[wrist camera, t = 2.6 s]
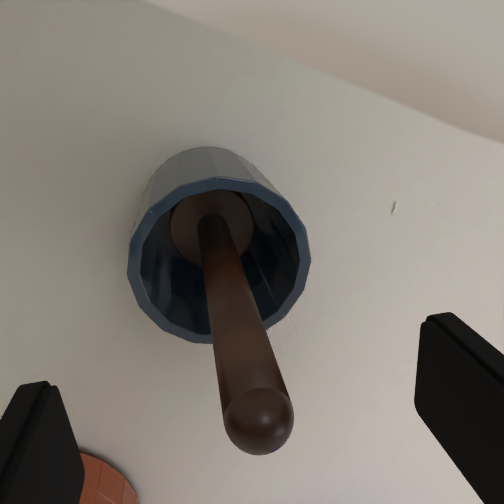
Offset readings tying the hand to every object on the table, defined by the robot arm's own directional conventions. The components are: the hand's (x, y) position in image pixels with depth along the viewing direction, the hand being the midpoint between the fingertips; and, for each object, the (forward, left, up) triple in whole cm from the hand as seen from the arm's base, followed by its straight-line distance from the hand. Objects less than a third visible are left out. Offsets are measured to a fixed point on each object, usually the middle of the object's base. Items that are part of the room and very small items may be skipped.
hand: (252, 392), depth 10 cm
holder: (0, 0, -15) cm, 15 cm away
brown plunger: (0, 0, -14) cm, 14 cm away
